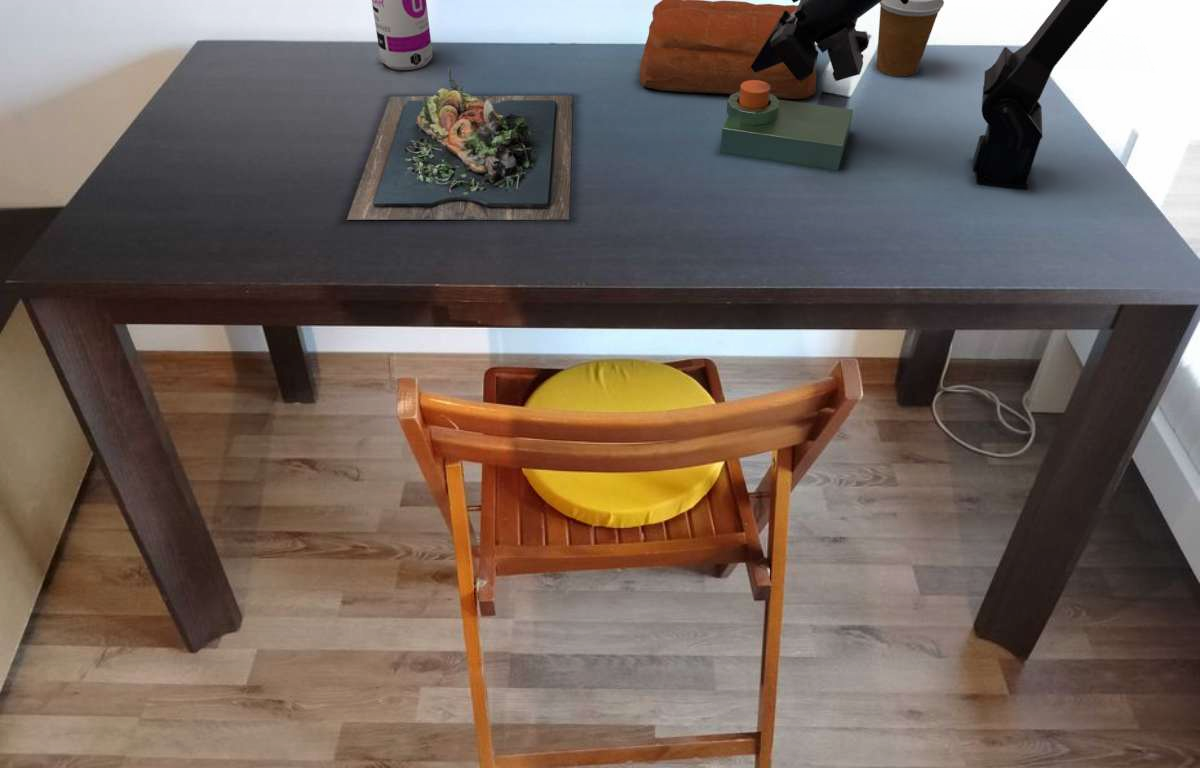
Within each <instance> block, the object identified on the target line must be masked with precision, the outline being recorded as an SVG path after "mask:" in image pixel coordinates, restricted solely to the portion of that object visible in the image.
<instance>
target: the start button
mask: <svg viewBox="0 0 1200 768" xmlns="http://www.w3.org/2000/svg"><path fill="white" fill-rule="evenodd" d="M769 95H770V85H769V84H768V83H766V82H763V81H759V80H749V81H745V82H743V83H742V84H741V87H740V96H739V105H741V106H743V107H745V108H750V109H762V108H765V107H768V104H769Z"/></svg>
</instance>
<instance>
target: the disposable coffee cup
mask: <svg viewBox="0 0 1200 768" xmlns="http://www.w3.org/2000/svg"><path fill="white" fill-rule="evenodd" d="M944 4H945V1H944V0H909V1H908V3H907V4H903V3H902V2H901V1H900V0H882V1H881V2H880V3H879V6H880V7H879V8H880V9H879V21H878V23H879V24H878V35H877V36H878V37H877V51H876V52H877V54H876V68H877V70H878V71H879V72H880V73H883V74H885V75H888V76H891V77H910V76H914V75H915V74H917V72H918V70H919V68H920V64H921V61H922V58H923V56H924V53H925V50H926V49H927V48H926V47H927V45H928V42H929V39H930V36H931V33H932V31H933V28H934V25H935V23H936V20H937V17H938V14H939V12H940V11H941V9H942V8H943V7H944Z"/></svg>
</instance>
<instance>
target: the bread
mask: <svg viewBox="0 0 1200 768" xmlns="http://www.w3.org/2000/svg"><path fill="white" fill-rule="evenodd" d="M797 6H798V4H797V5H796V4H790V5H787V4H786V5H784V4H776V3H775V4H774V3H759V4H755V3H752V2H747V1H737V0H714V1H711V0H660V1H659V2H657V3H656V4H655V5H654V6H653V9H652V20H651V22H650V24H649V26H648V36H647V38H646V41H645V44H644V47H643V53H642V57H641V61H640V66H639V67H640V68H639V74H638V76H639V82H640V83H641V85H642V86H643V88H648V89H654V90H659V91H666V92H667V91H669V92H680V93H682V92H683V93H699V94H700V93H701V94H702V93H703V94H721V95H723V94H724V95H732V94H734V93H737V92H739V91H740V87H741V84H742V83H743V82H745V81H749V80H759V81H763V82H766V83H768V84H769V85H770V94H772V95H774V96H776V97H777V99H789V100H798V99H808V98H810V97H812V96H813V95H815V94H816V89H817V88H816V85H817V65H816V66H815V69H814V71H813V73H812V74H811V75H809V76H808V77H807V78H805V79H804V80H803V81H801V82H800V81H798V80H797V79H796V78H795V77H794V75H793V74H792V73H791V72H790V70H789V69H788V68H787V66H786V65H785V64H784V63H780V64H777V65H775V66H772V67H770V68H767V69H764V70H762V71H759V72H757V73H755V72H754V71H753V70H752V68H751V65H752V63H753V61H754V60H755V58H756V57H757V55H758V53H759V52H760V50H761V48H762V47H763V45H764V43H765V42H766V40H767V38H768V37H769V35H770V33H771V32H772V30H773V28H774V27H775V25H776V24H777V22H778V20H779V19H780V17H781V15H782V13H783V12H784V11H785V10H786V11H787V12H788V13H789V14H792V13H793V12H794V11H795V10H796V7H797ZM814 44H815V45H816V42H815V43H814Z"/></svg>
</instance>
